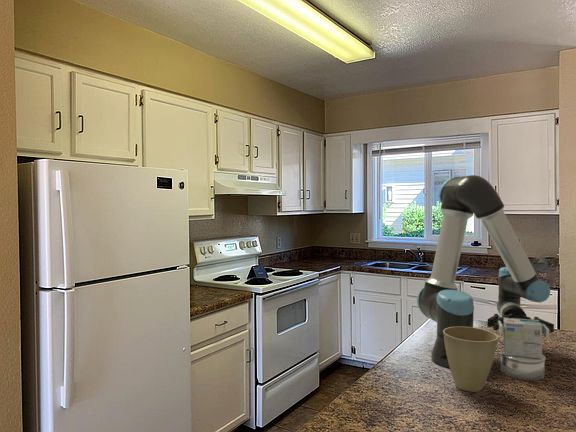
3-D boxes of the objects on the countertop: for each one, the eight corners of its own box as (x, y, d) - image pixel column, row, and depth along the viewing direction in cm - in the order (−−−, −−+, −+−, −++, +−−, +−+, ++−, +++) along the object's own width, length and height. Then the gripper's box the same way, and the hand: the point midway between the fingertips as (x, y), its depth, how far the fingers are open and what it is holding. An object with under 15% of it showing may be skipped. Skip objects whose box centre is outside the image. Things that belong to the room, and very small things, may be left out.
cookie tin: (512, 381, 136) (512, 361, 136) (492, 365, 149) (492, 347, 149) (554, 380, 136) (555, 361, 136) (530, 365, 149) (530, 347, 149)
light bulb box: (539, 352, 144) (539, 319, 144) (542, 359, 138) (543, 324, 137) (502, 348, 148) (502, 316, 147) (504, 355, 141) (504, 321, 141)
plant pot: (464, 400, 123) (464, 343, 122) (432, 379, 137) (433, 328, 136) (509, 394, 126) (510, 338, 126) (474, 374, 141) (474, 324, 140)
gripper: (551, 328, 156) (569, 347, 135) (476, 322, 163) (481, 340, 143) (552, 307, 155) (569, 323, 135) (476, 302, 163) (482, 316, 143)
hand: (524, 332), depth 139 cm, fingers open, 12 cm apart
